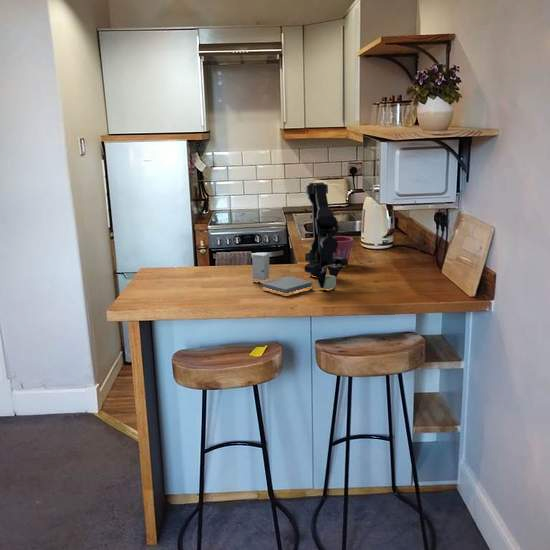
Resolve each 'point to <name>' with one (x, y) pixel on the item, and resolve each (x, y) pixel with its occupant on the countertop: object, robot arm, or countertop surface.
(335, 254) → the plant pot
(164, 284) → the countertop surface
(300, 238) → the countertop surface
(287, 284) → the base
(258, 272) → the skincare box
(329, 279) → the green cube
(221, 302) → the countertop surface
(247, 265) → the countertop surface
